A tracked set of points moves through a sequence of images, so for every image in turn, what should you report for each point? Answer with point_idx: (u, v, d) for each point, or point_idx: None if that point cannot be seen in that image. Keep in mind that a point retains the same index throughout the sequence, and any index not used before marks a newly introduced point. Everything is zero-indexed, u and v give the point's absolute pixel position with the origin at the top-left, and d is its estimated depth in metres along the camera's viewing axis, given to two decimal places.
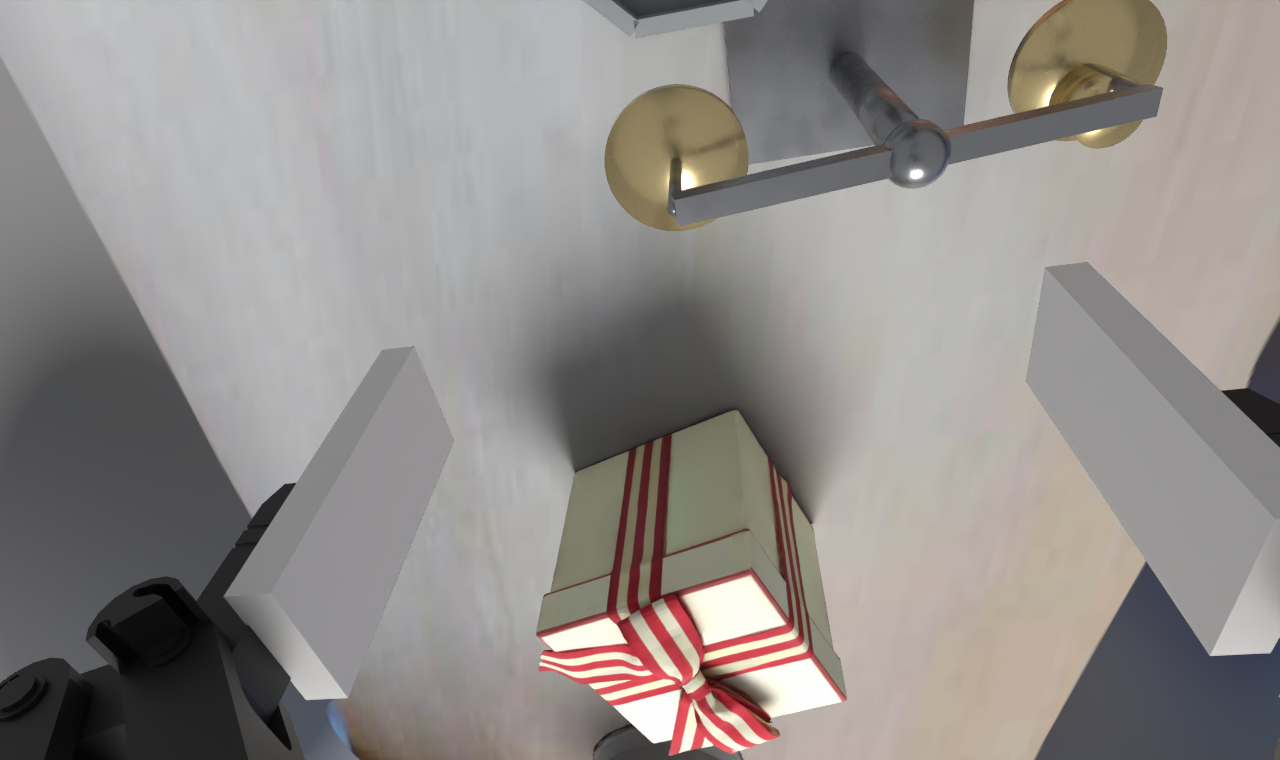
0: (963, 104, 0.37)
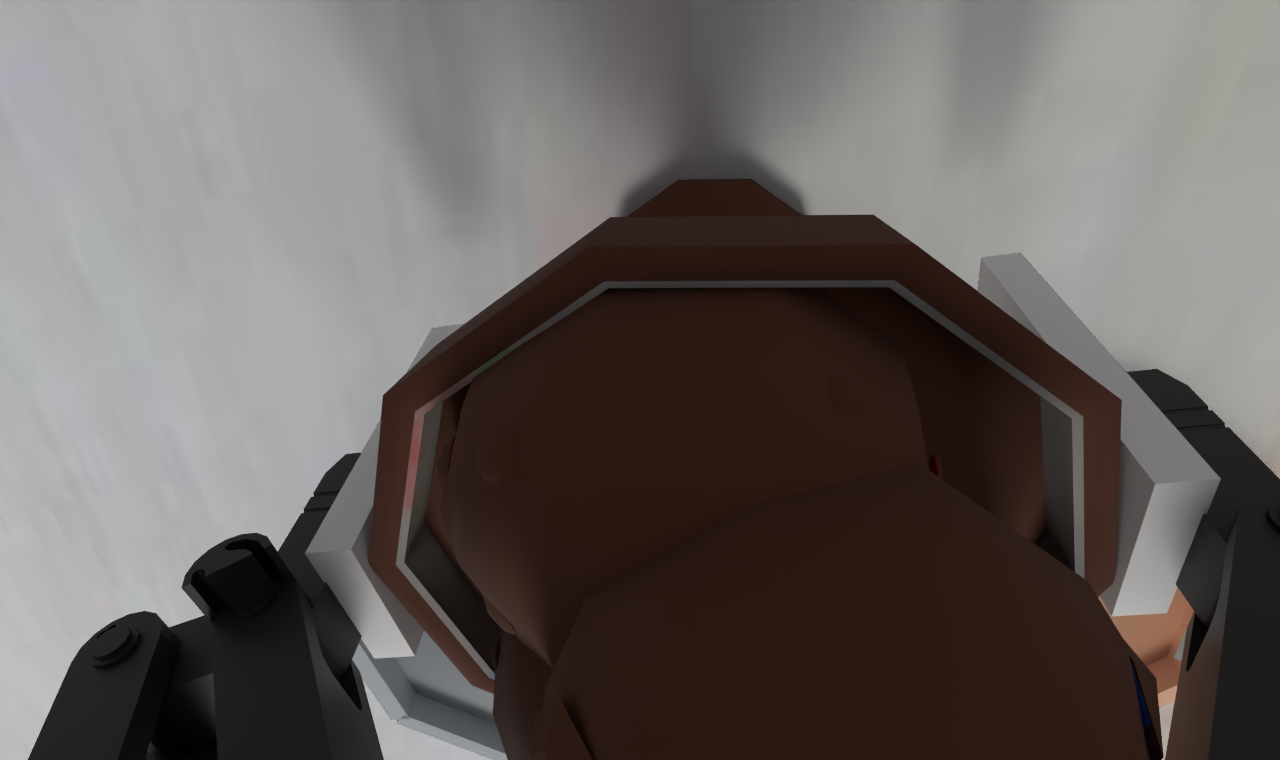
0: None
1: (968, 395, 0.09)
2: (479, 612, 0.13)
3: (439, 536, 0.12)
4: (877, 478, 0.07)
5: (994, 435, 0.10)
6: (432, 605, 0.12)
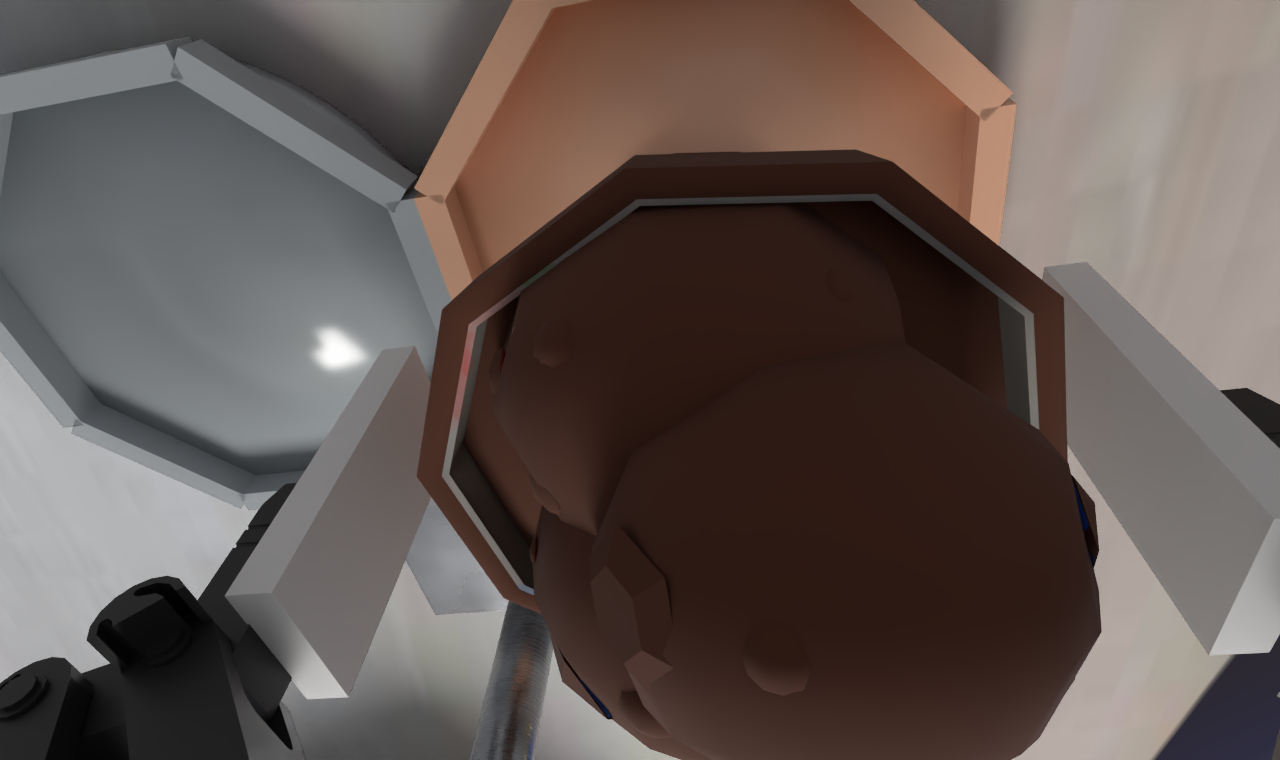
0: None
1: (939, 304, 0.11)
2: (510, 530, 0.14)
3: (476, 456, 0.13)
4: (867, 348, 0.09)
5: (962, 340, 0.11)
6: (472, 517, 0.13)
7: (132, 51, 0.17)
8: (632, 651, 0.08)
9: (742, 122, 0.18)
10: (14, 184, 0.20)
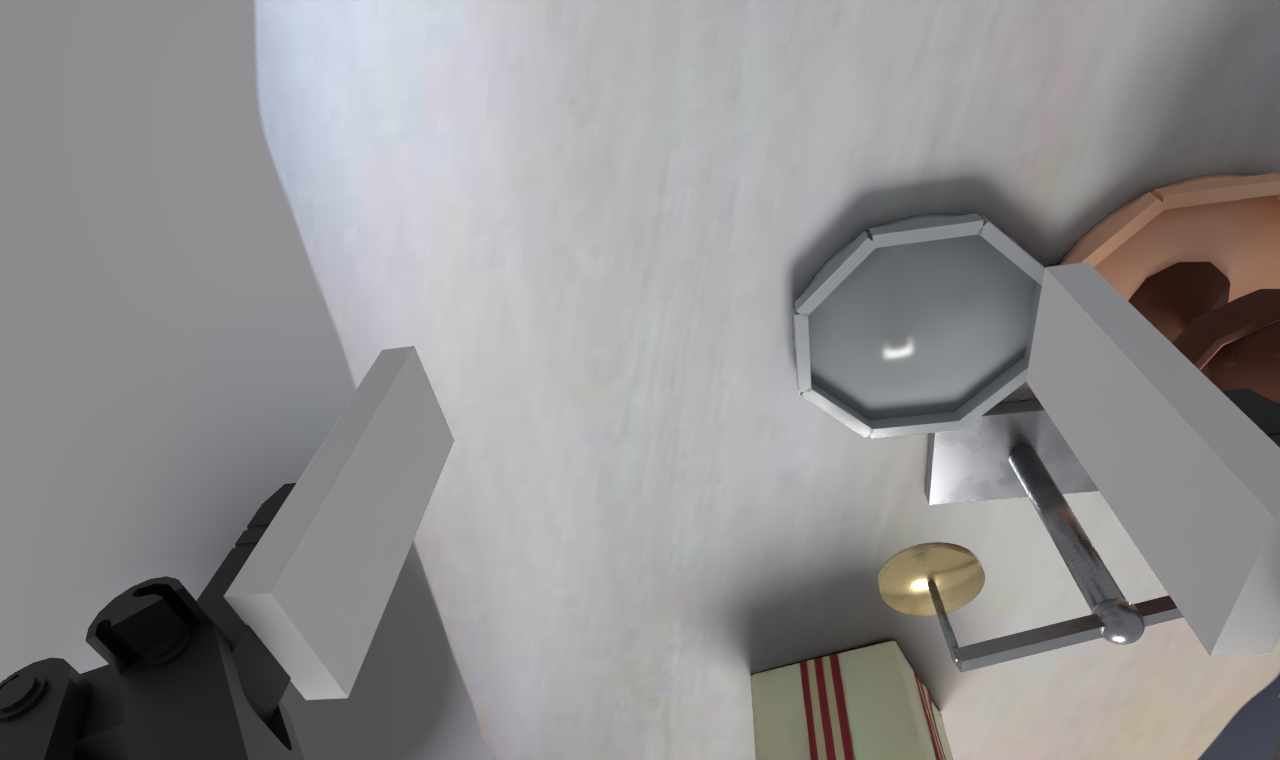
0: None
1: None
2: None
3: None
4: None
5: None
6: None
7: (966, 223, 0.39)
8: None
9: (1216, 250, 0.40)
10: None
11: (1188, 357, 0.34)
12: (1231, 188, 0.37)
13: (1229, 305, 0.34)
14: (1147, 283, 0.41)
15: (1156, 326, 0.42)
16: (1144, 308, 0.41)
